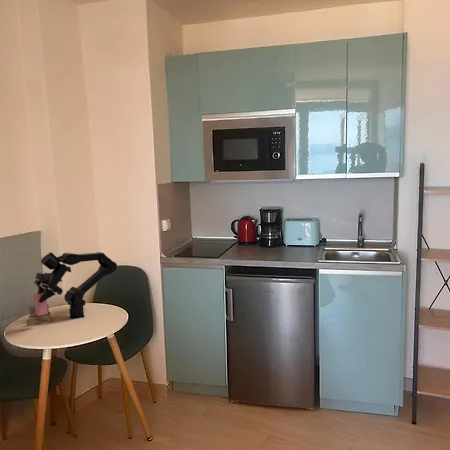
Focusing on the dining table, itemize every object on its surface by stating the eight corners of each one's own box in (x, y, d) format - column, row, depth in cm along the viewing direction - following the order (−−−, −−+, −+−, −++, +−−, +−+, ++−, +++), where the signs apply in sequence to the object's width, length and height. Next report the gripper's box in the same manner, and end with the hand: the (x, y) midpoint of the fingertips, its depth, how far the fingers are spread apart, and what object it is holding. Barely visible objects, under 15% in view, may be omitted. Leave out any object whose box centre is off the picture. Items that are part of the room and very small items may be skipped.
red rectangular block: (44, 312, 230) (42, 292, 229) (47, 313, 228) (45, 293, 227) (35, 314, 227) (33, 294, 226) (38, 316, 225) (37, 296, 223)
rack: (50, 315, 245) (49, 303, 244) (51, 322, 234) (50, 309, 233) (29, 319, 241) (27, 306, 240) (29, 326, 230) (27, 312, 229)
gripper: (36, 263, 234) (16, 290, 227) (54, 268, 221) (34, 296, 214) (52, 275, 240) (33, 301, 234) (71, 280, 228) (51, 308, 221)
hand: (37, 301), depth 226 cm, fingers closed on red rectangular block, 3 cm apart
